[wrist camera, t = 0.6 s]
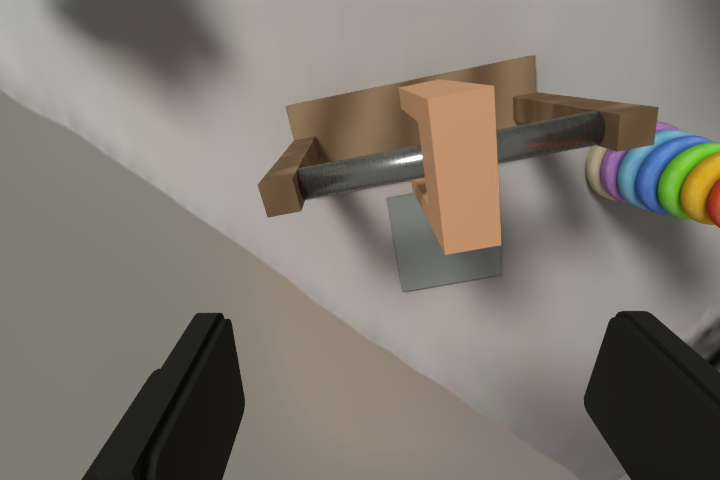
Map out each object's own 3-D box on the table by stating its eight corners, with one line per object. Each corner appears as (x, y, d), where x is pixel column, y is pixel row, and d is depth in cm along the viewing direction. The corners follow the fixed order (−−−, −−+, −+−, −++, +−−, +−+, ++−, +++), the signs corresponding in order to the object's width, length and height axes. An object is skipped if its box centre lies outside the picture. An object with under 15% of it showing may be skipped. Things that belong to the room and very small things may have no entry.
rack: (529, 55, 34) (665, 45, 19) (530, 146, 37) (647, 196, 22) (287, 105, 35) (241, 131, 21) (308, 188, 39) (281, 262, 24)
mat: (495, 177, 39) (496, 178, 38) (499, 273, 43) (501, 274, 43) (386, 198, 39) (386, 199, 39) (402, 290, 44) (402, 291, 43)
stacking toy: (603, 212, 40) (789, 318, 23) (567, 153, 38) (747, 222, 21) (676, 164, 38) (939, 240, 21) (644, 98, 36) (914, 124, 19)
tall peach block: (438, 79, 28) (494, 85, 17) (449, 184, 31) (501, 245, 20) (398, 87, 28) (427, 99, 17) (412, 190, 32) (445, 255, 21)
